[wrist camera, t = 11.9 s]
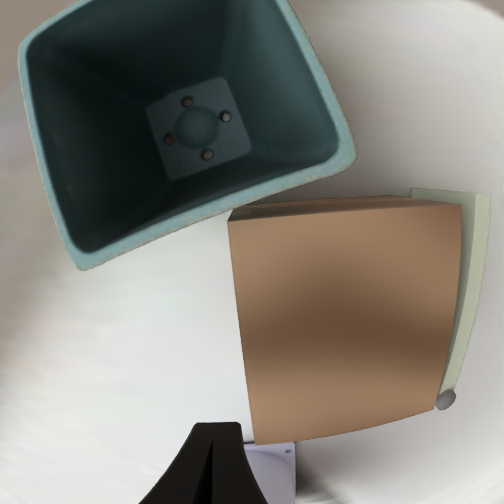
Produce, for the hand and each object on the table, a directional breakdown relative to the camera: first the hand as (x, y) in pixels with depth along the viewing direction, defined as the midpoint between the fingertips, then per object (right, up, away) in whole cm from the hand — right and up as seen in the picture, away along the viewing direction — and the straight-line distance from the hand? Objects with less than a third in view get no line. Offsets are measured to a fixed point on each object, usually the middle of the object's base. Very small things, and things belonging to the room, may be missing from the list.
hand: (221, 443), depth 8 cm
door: (+11, +4, +9) cm, 15 cm away
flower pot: (-2, +13, +8) cm, 15 cm away
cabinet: (+5, +4, +9) cm, 11 cm away
